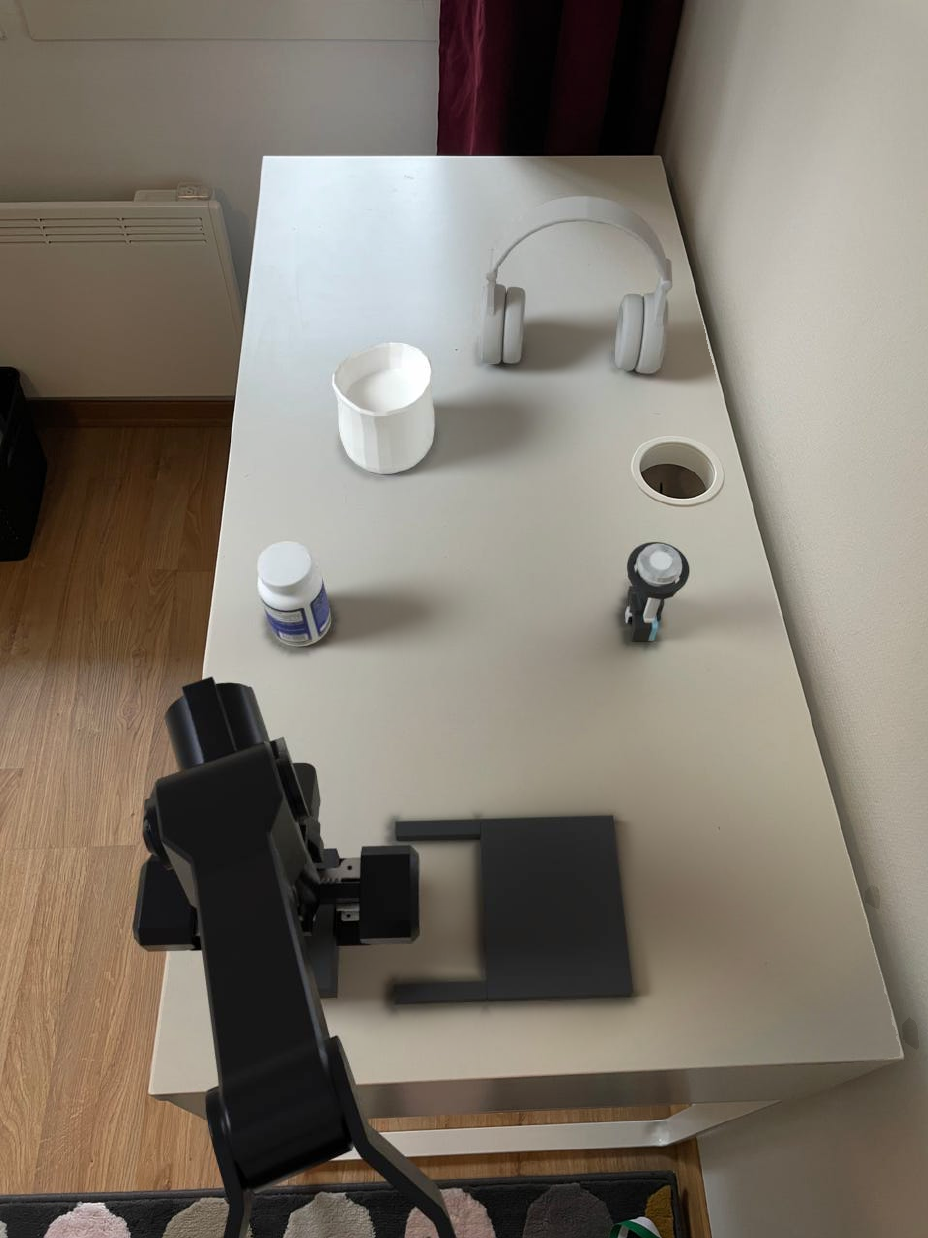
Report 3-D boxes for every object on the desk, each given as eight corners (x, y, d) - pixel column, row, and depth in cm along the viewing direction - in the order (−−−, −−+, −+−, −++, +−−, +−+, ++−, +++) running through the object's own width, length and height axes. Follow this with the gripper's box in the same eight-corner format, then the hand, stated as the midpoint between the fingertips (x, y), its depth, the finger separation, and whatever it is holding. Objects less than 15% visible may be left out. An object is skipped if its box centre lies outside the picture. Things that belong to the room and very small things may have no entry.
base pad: (630, 997, 73) (633, 994, 72) (394, 1004, 73) (393, 1002, 71) (610, 820, 80) (612, 815, 79) (395, 826, 80) (395, 821, 79)
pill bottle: (309, 586, 92) (293, 524, 83) (344, 626, 90) (332, 566, 81) (258, 618, 90) (238, 558, 81) (293, 660, 88) (275, 602, 79)
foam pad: (337, 998, 70) (331, 988, 67) (255, 1001, 70) (244, 991, 66) (342, 863, 75) (336, 848, 72) (265, 865, 75) (256, 850, 72)
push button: (608, 585, 92) (624, 523, 84) (663, 584, 92) (685, 522, 84) (615, 645, 89) (633, 587, 80) (673, 644, 89) (696, 586, 80)
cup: (326, 460, 100) (314, 393, 92) (371, 396, 105) (363, 327, 96) (407, 490, 98) (403, 425, 90) (449, 424, 103) (449, 356, 94)
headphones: (655, 336, 110) (690, 184, 93) (657, 390, 105) (694, 240, 89) (481, 326, 110) (485, 173, 94) (476, 379, 106) (479, 228, 89)
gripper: (414, 739, 63) (422, 819, 76) (127, 747, 62) (186, 826, 76) (415, 912, 57) (423, 966, 70) (99, 922, 56) (168, 974, 70)
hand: (298, 926), depth 72 cm, fingers closed on foam pad, 6 cm apart
